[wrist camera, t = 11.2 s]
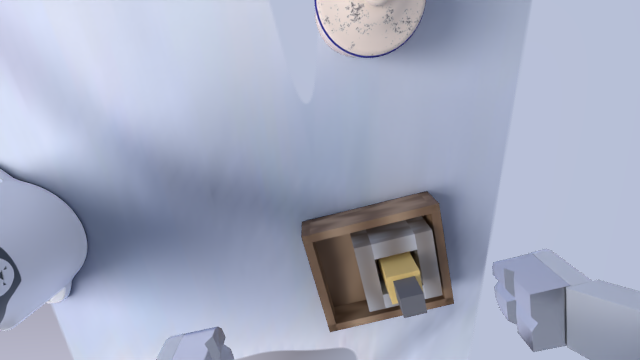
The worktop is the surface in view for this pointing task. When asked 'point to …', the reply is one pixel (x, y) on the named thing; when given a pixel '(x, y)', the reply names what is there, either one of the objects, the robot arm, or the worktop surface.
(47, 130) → the worktop surface
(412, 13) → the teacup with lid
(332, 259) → the walled box
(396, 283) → the connector
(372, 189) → the worktop surface
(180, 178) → the worktop surface
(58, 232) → the robot arm
